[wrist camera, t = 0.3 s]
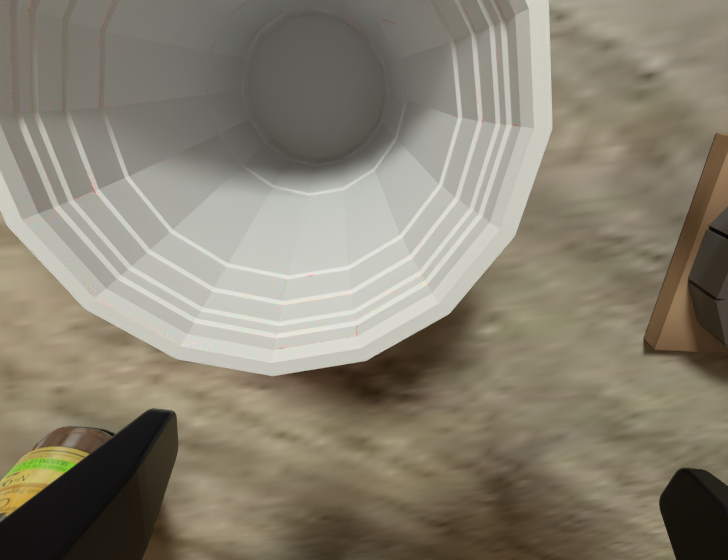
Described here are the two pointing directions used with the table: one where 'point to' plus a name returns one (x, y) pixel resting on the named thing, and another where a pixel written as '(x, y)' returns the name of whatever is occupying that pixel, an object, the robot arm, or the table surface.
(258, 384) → the table surface
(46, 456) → the sauce bottle
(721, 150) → the collar
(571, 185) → the table surface
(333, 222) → the plastic cup
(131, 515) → the robot arm
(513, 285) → the table surface
